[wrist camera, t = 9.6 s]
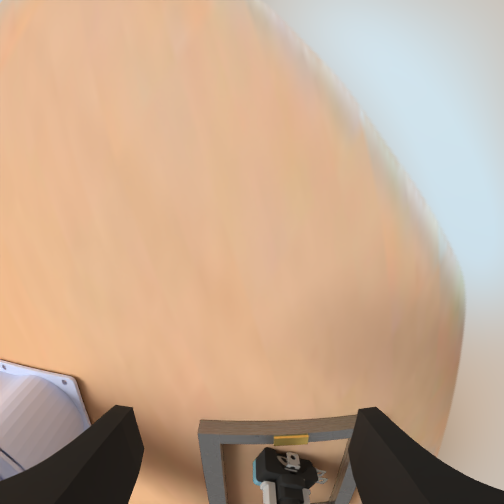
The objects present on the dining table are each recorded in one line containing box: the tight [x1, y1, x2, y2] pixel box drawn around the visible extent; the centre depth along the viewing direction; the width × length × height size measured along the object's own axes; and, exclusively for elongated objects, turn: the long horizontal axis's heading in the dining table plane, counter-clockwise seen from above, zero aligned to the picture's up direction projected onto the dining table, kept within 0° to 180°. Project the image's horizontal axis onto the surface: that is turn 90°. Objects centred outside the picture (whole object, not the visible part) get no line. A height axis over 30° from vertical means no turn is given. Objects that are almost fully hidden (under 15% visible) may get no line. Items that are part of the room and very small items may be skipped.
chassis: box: [198, 415, 357, 504], centre depth 22 cm, size 13×14×2 cm
